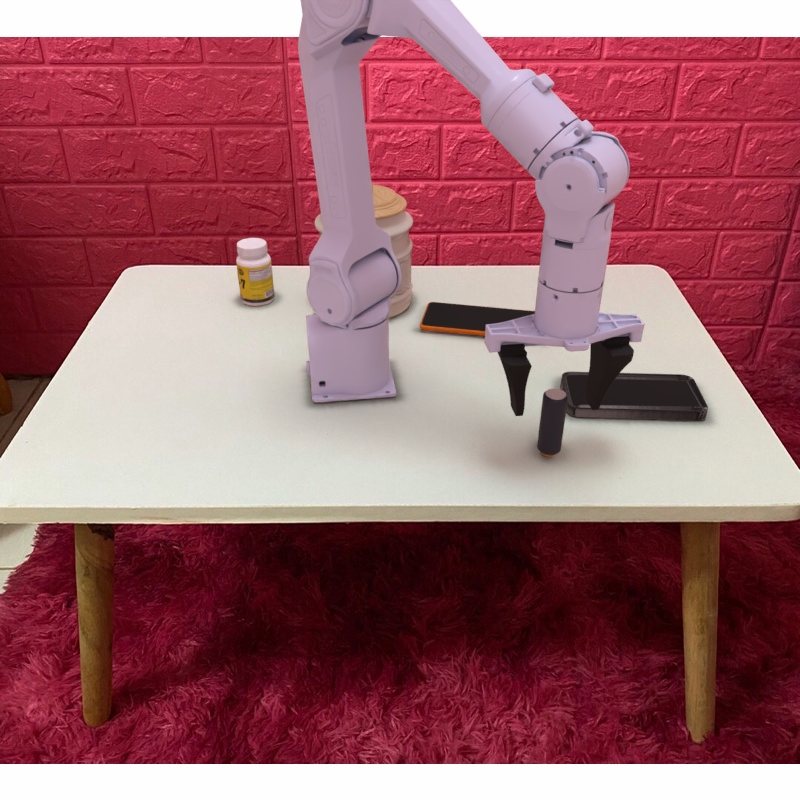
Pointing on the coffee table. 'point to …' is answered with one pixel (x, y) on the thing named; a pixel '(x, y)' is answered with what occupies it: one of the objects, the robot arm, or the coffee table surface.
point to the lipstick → (552, 422)
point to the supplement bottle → (254, 272)
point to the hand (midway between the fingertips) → (554, 407)
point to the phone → (638, 397)
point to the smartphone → (466, 317)
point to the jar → (392, 239)
